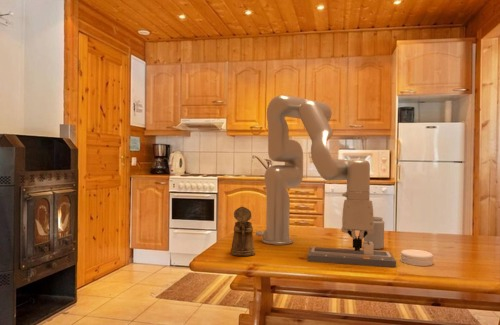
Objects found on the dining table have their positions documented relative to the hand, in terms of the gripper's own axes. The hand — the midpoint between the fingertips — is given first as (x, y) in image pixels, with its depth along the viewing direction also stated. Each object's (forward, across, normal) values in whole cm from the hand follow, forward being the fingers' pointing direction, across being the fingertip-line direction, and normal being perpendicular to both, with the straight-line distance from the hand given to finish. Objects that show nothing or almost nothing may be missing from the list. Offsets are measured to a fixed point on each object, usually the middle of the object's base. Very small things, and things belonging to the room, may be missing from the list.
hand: (357, 249), depth 129 cm
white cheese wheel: (+4, +20, +3) cm, 20 cm away
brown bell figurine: (+4, -39, -4) cm, 40 cm away
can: (+4, +8, +21) cm, 23 cm away
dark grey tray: (+4, -2, 0) cm, 4 cm away
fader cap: (+1, +4, 0) cm, 4 cm away
